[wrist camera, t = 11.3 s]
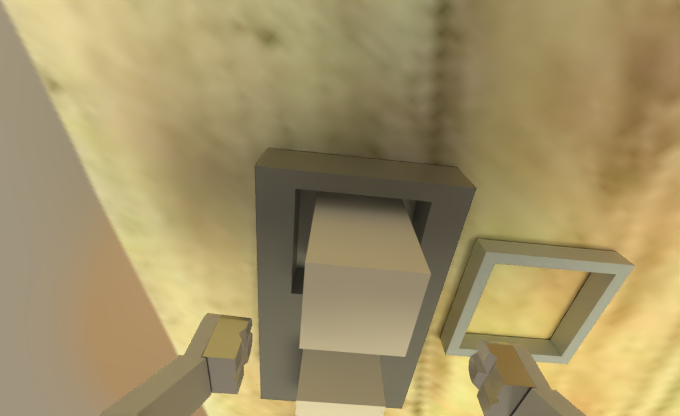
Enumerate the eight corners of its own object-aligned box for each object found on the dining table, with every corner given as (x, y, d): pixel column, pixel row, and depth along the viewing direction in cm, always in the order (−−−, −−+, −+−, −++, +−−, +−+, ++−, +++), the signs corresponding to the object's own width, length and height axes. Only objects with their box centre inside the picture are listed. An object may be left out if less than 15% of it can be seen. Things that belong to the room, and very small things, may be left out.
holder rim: (477, 238, 20) (486, 251, 19) (616, 251, 21) (634, 265, 19) (439, 338, 25) (445, 354, 23) (555, 347, 25) (567, 364, 24)
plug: (317, 189, 18) (305, 262, 12) (401, 197, 18) (431, 274, 12) (312, 257, 20) (299, 348, 14) (386, 264, 21) (405, 356, 14)
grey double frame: (268, 147, 18) (227, 202, 11) (456, 167, 18) (516, 230, 12) (269, 363, 26) (246, 460, 20) (395, 372, 27) (411, 470, 21)
